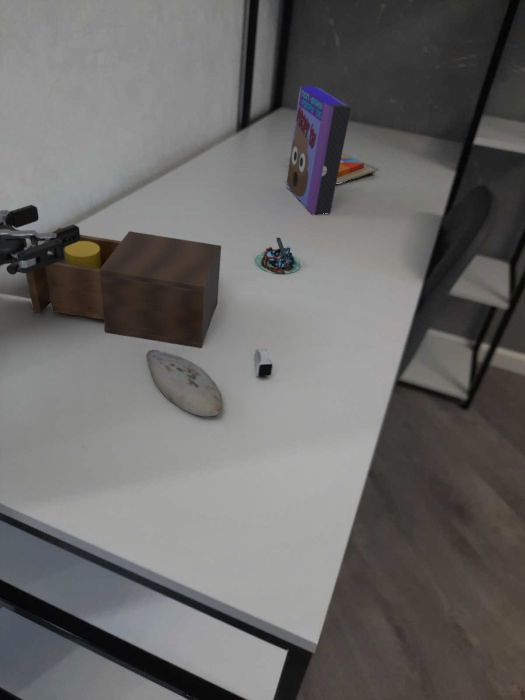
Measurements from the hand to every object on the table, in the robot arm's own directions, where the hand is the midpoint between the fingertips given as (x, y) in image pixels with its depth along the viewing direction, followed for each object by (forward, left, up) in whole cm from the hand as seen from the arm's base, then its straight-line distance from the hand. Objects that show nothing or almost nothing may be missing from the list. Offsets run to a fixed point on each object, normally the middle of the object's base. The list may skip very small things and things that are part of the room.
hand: (56, 221), depth 72 cm
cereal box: (+34, +62, -16) cm, 73 cm away
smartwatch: (+31, -7, -16) cm, 36 cm away
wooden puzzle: (+40, +87, -16) cm, 97 cm away
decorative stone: (+21, -13, -16) cm, 29 cm away
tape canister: (+2, +3, -13) cm, 14 cm away
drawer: (0, +3, -14) cm, 15 cm away
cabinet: (+14, +3, -15) cm, 21 cm away
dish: (+30, +27, -16) cm, 44 cm away
